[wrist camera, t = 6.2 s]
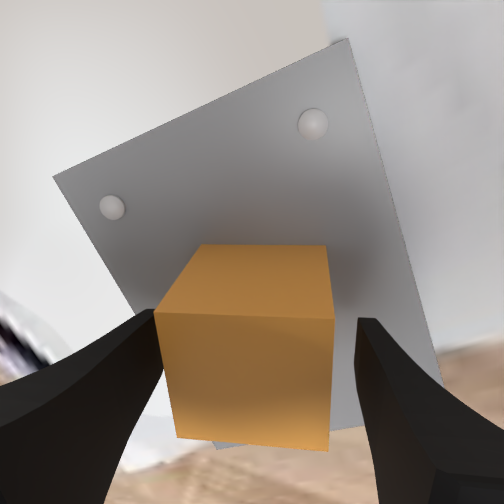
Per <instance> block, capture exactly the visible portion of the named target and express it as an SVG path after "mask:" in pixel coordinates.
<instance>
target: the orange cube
mask: <svg viewBox="0 0 504 504" xmlns="http://www.w3.org/2000/svg"><path fill="white" fill-rule="evenodd" d="M153 313H154V318H155V324H156V329H157V334H158V339H159V345H160V350H161V355H162V361H163V366H164V371H165V376H166V382H167V387H168V392H169V398H170V402H171V408H172V413H173V419H174V424H175V429H176V435H177V438H185V439H196V440H207V441H217V442H228V443H239V444H250V445H261V446H272V447H283V448H293V449H304V450H315V451H326V452H328V448H329V429H330V409H331V390H332V371H333V352H334V333H335V313H334V305H333V298H332V290H331V282H330V274H329V266H328V258H327V250H326V245H226V244H201V245H200V247H199V248H198V250H197V251H196V252H195V254H194V255H193V257H192V258H191V259H190V261H189V262H188V264H187V265H186V267H185V268H184V269H183V271H182V272H181V274H180V275H179V276H178V278H177V279H176V281H175V282H174V284H173V285H172V286H171V288H170V289H169V291H168V292H167V293H166V295H165V296H164V298H163V299H162V301H161V302H160V303H159V305H158V306H157V308H156V309H155V310H154V312H153Z"/></svg>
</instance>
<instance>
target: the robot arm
mask: <svg viewBox="0 0 504 504" xmlns="http://www.w3.org/2000/svg"><path fill="white" fill-rule="evenodd" d="M154 310H155V309H145V310H143V311H141V312H140V313H138V314H137V315H135V316H133V317H132V318H130V319H129V320H127V321H126V322H124V323H123V324H121V325H120V326H118V327H117V328H115V329H113V330H112V331H110V332H109V333H107V334H106V335H104V336H103V337H101V338H99V339H97V340H96V341H94V342H93V343H91V344H89V345H88V346H86V347H84V348H83V349H81V350H79V351H77V352H75V353H74V354H72V355H70V356H68V357H66V358H64V359H62V360H60V361H58V362H56V363H54V364H52V365H50V366H48V367H46V368H44V369H41V370H39V371H37V372H34V373H32V374H29V375H27V376H25V377H22V378H20V379H18V380H15V381H13V382H10V383H7V384H5V385H2V386H0V504H104V501H105V498H106V495H107V493H108V490H109V487H110V485H111V482H112V479H113V477H114V474H115V471H116V469H117V466H118V464H119V461H120V459H121V456H122V454H123V451H124V449H125V446H126V444H127V441H128V439H129V437H130V435H131V433H132V431H133V429H134V427H135V425H136V423H137V421H138V419H139V417H140V416H141V414H142V412H143V410H144V408H145V406H146V404H147V402H148V400H149V398H150V397H151V395H152V392H153V391H154V389H155V387H156V385H157V383H158V381H159V379H160V377H161V375H162V372H163V369H164V366H163V361H162V355H161V350H160V345H159V339H158V334H157V329H156V324H155V318H154V313H153V312H154ZM354 372H355V381H356V390H357V394H358V399H359V403H360V407H361V411H362V416H363V420H364V424H365V428H366V432H367V436H368V441H369V445H370V449H371V454H372V459H373V464H374V470H375V477H376V485H377V492H378V499H379V504H504V430H503V429H501V428H500V427H498V426H496V425H495V424H493V423H492V422H490V421H489V420H487V419H485V418H484V417H483V416H481V415H480V414H478V413H477V412H475V411H474V410H472V409H471V408H470V407H468V406H467V405H465V404H464V403H463V402H461V401H460V400H459V399H457V398H456V397H455V396H453V395H452V394H451V393H450V392H448V391H447V390H446V389H445V388H443V387H442V386H441V385H440V384H438V383H437V382H436V381H435V380H434V379H433V378H431V377H430V376H429V375H428V374H427V373H426V372H425V371H424V370H423V369H422V368H421V367H420V366H419V365H418V364H417V363H416V362H415V361H414V360H413V359H412V358H411V357H410V356H409V355H408V354H407V353H406V352H405V351H404V350H403V349H402V348H401V347H400V345H399V344H398V343H397V342H396V341H395V340H394V339H393V337H392V336H391V335H390V334H389V333H388V332H387V330H386V329H385V328H384V327H383V325H382V324H381V323H380V322H379V321H378V320H377V319H376V318H366V317H358V319H357V331H356V342H355V353H354Z"/></svg>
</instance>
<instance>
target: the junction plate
mask: <svg viewBox="0 0 504 504" xmlns="http://www.w3.org/2000/svg"><path fill="white" fill-rule="evenodd" d="M53 179H54V180H55V182H56V183H57V185H58V187H59V189H60V190H61V192H62V193H63V195H64V197H65V198H66V200H67V202H68V203H69V205H70V207H71V208H72V210H73V212H74V213H75V215H76V217H77V218H78V220H79V222H80V223H81V225H82V226H83V228H84V230H85V231H86V233H87V235H88V237H89V238H90V240H91V242H92V243H93V245H94V247H95V248H96V250H97V252H98V253H99V255H100V256H101V258H102V260H103V261H104V263H105V265H106V266H107V268H108V270H109V271H110V273H111V275H112V276H113V278H114V280H115V281H116V283H117V285H118V286H119V288H120V290H121V291H122V293H123V295H124V296H125V298H126V300H127V301H128V303H129V305H130V306H131V308H132V310H133V311H134V313H135V315H137V314H138V313H140V312H141V311H143V310H145V309H156V308H157V306H158V305H159V303H160V302H161V301H162V299H163V298H164V296H165V295H166V293H167V292H168V291H169V289H170V288H171V286H172V285H173V284H174V282H175V281H176V279H177V278H178V276H179V275H180V274H181V272H182V271H183V269H184V268H185V267H186V265H187V264H188V262H189V261H190V259H191V258H192V257H193V255H194V254H195V252H196V251H197V250H198V248H199V247H200V245H201V244H226V245H326V250H327V258H328V266H329V274H330V282H331V290H332V298H333V305H334V313H335V333H334V352H333V371H332V390H331V409H330V429H329V431H333V430H339V429H345V428H352V427H358V426H364V425H365V424H364V420H363V416H362V411H361V407H360V403H359V399H358V394H357V390H356V381H355V372H354V353H355V342H356V331H357V319H358V317H366V318H376V319H377V320H378V321H379V322H380V323H381V324H382V325H383V327H384V328H385V329H386V330H387V332H388V333H389V334H390V335H391V336H392V337H393V339H394V340H395V341H396V342H397V343H398V344H399V345H400V347H401V348H402V349H403V350H404V351H405V352H406V353H407V354H408V355H409V356H410V357H411V358H412V359H413V360H414V361H415V362H416V363H417V364H418V365H419V366H420V367H421V368H422V369H423V370H424V371H425V372H426V373H427V374H428V375H429V376H430V377H431V378H433V379H434V380H435V381H436V382H437V383H438V384H440V385H441V386H442V387H443V388H444V384H443V381H442V377H441V374H440V370H439V366H438V363H437V359H436V355H435V352H434V348H433V344H432V341H431V337H430V334H429V330H428V326H427V323H426V319H425V315H424V312H423V308H422V304H421V301H420V297H419V294H418V290H417V286H416V283H415V279H414V275H413V272H412V268H411V265H410V261H409V257H408V254H407V250H406V246H405V243H404V239H403V235H402V232H401V228H400V225H399V221H398V217H397V214H396V210H395V206H394V203H393V199H392V195H391V192H390V188H389V185H388V181H387V177H386V174H385V170H384V166H383V163H382V159H381V156H380V152H379V148H378V145H377V141H376V137H375V134H374V130H373V126H372V123H371V119H370V116H369V112H368V108H367V105H366V101H365V97H364V94H363V90H362V86H361V83H360V79H359V76H358V72H357V68H356V65H355V61H354V57H353V54H352V50H351V47H350V43H349V39H348V38H346V39H344V40H342V41H340V42H337V43H335V44H333V45H331V46H329V47H327V48H325V49H323V50H321V51H318V52H316V53H314V54H312V55H310V56H308V57H306V58H303V59H301V60H299V61H297V62H295V63H293V64H291V65H289V66H286V67H284V68H282V69H280V70H278V71H276V72H274V73H271V74H269V75H267V76H266V77H263V78H261V79H259V80H257V81H255V82H253V83H250V84H248V85H246V86H244V87H242V88H240V89H238V90H235V91H233V92H231V93H229V94H227V95H225V96H223V97H220V98H218V99H216V100H214V101H212V102H210V103H208V104H206V105H204V106H201V107H199V108H197V109H195V110H193V111H191V112H189V113H186V114H184V115H183V116H180V117H178V118H176V119H174V120H171V121H169V122H167V123H165V124H163V125H161V126H159V127H157V128H155V129H152V130H150V131H148V132H146V133H144V134H142V135H140V136H138V137H135V138H133V139H131V140H129V141H127V142H125V143H123V144H120V145H118V146H116V147H114V148H112V149H110V150H108V151H106V152H103V153H101V154H99V155H97V156H95V157H93V158H91V159H88V160H86V161H84V162H82V163H80V164H78V165H76V166H74V167H71V168H69V169H67V170H65V171H63V172H61V173H59V174H57V175H55V176H53ZM212 442H213V444H214V446H215V447H216V449H217V450H218V449H224V448H230V447H236V446H242V445H248V444H239V443H228V442H217V441H212Z"/></svg>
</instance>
